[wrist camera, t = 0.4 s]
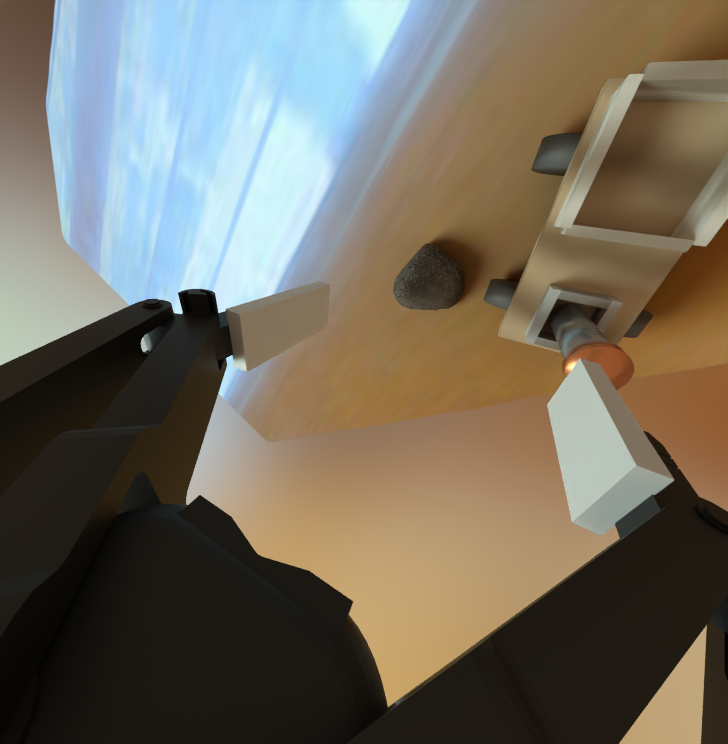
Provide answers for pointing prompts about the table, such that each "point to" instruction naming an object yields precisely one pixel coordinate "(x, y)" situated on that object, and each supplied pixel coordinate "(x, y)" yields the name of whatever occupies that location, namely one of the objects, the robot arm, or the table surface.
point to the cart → (625, 201)
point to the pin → (588, 344)
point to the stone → (429, 281)
